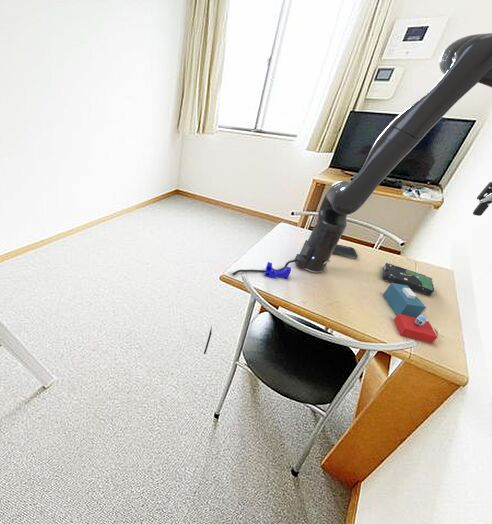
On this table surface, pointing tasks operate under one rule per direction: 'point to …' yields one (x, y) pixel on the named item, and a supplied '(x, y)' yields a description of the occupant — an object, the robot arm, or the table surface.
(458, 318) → the table surface
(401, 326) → the red rectangular block
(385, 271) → the disk drive
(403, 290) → the tissue box
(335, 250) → the phone
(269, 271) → the cable holder
